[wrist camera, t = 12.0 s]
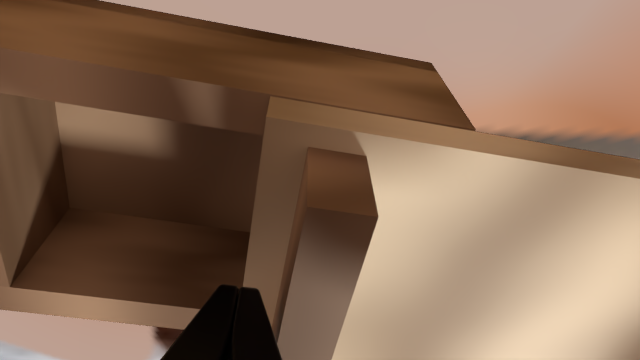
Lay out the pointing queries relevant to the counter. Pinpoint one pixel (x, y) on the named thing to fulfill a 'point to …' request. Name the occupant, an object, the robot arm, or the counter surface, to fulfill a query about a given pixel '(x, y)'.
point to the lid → (440, 242)
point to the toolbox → (155, 149)
